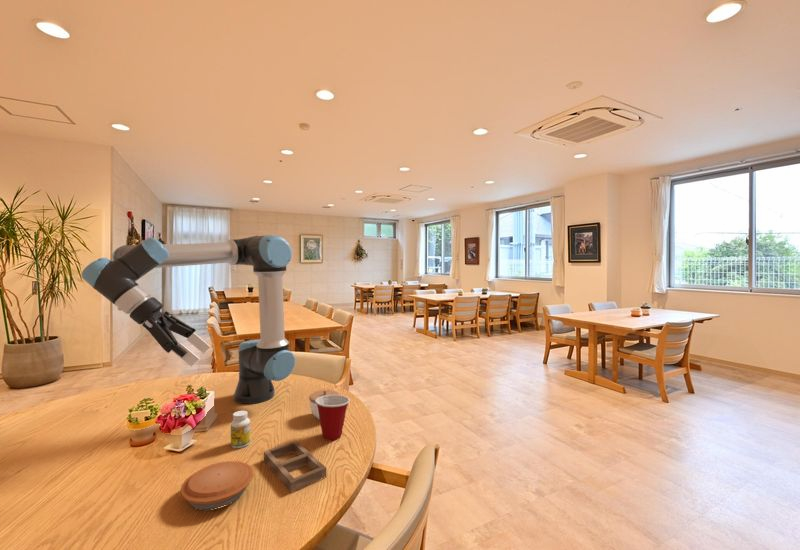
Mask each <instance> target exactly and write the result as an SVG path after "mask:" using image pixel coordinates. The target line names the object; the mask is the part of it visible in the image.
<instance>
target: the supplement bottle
mask: <svg viewBox="0 0 800 550" xmlns="http://www.w3.org/2000/svg"><path fill="white" fill-rule="evenodd" d="M248 416H249V415H248V411H247V410H238V411H235V412H234V413H232V421H231V423H230V445H231V447H232V448H233V449H243V448H245V447H247V446H249V445H250V443H251V420H250V418H249V417H248Z"/></svg>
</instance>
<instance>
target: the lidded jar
mask: <svg viewBox="0 0 800 550" xmlns="http://www.w3.org/2000/svg"><path fill="white" fill-rule="evenodd" d="M326 395H341V393H340V392H339V391H336V390H334V389H333V390H332V389H321V390H317V391H314V392H312V393H310V395H309V397H308V399H309V408H310V412H311V413H312V415H313V416H314V417H315V419H317V420H319V421H320V417H319V412H318V407H317V404H316V399H317V398H318V397H321V396H326Z"/></svg>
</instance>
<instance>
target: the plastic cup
mask: <svg viewBox="0 0 800 550" xmlns="http://www.w3.org/2000/svg"><path fill="white" fill-rule="evenodd" d="M350 401H351V400H350V398H349V397H348V396H346V395H341V394H340V395H326V396H321V397H318V398H317V399H316V404H317V407H318V412H319V417H320V420H319V423H320V427H321V434H322V438H323V439H324V440H326V441H336V440H338V439H340V438H341V437H342V434H343V428H344V424H345V420H346V419H345V418H346V413H347V409H348V405H349V403H350Z"/></svg>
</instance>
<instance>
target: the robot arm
mask: <svg viewBox="0 0 800 550" xmlns="http://www.w3.org/2000/svg"><path fill="white" fill-rule="evenodd" d="M111 255H112V256H111V259H109V258H107V257H100V258H98V259H96V260H94V261H92V262H90V263H89V264H88V265H86V266H85V268H84V269H82V271H81V279H83V280H84V281H85V282H86V283H87V284H88V285H89V286H91V287H92V289H94V290H95V291H97V292H98V293H99V294H100V295H102V296H103V297H104V298H105V299H107V300H108V301H109V302H110V303H111V304H114V306H116V307H117V311H120V312H121V311H122V312H123V313H125V314H126V315H129V318H130V319H131V320H133V321H134V322H136V324H138V325H141V326H142V327H143V328H144V329H146V330H147V331H148V332H149V333H150V335H151V336H152V337H153V338H154V340H155V341H156V342H157V343H158V344H159V345H160V347H161V348H162V349H163V350H164V351H165V352H166V353H168V354H169V353H171V352H172V353H174V354H175V355H176V356H177V357H179V358H180V359H181V360H182V361H184V363H186V364H187V365H188V366H189V367H193V366H194V365H195V363H197V362H198V361H199V360H200V357H199V356H198V355H197V354H195V353H194V352H193V351H192V350H190V349H189V348H188V347H186V346H185V345H184V344H183V343H182V342H180V343H179V342H178V341H177V339H176V337H175V335H174V334H173V333H175V334H178V335H180V336H182V337H184V338H186V341H187V342H189V343H190V344H191V345H193V346H194V348H195V349H197V350H198V351H200V352H201V353H202V354H205V353H206V352H207V351H208V350H209V349H210V348H211V345H210V344H208V342H206V341H205V340H204V339H202V338H201V337H200V336H199V335H198V334H197V333H195V332H196V331H197V330H196V329H195V328H194V327H192V326H190V325H189V324H187V323H185V322H183V321H182V320H181V319H179V318H177V317H176V316H174V315H173V314H171V313H170V312H169V311H166V310H165V312H161V310H162V309H163V308H164V307H163V306H164V304H163V303H162V302H160V301H159V300H158V298H156V297H153V296H152V294H151V293H150V292H148V291H147V290H146V289H145V287H143V286H141V285H140V284H138V282H137V281H138V280H139V279H141V278H143V276H145V275H146V274H148V273H149V272H151V271H152V270H154V269H156V268H157V269H158V268H159V269H160V268H171V267H172V268H174V267H184V266H185V267H186V266H187V267H188V266H200V265H201V266H202V265H214V264H215V265H216V264H226V263H227V264H229V265H231V266H236V265H238V266H240V265H243V266H251V267H252V269H253V270H252V271H253V273H254V275H256V276H257V279H258V280H257V281H258V283H257V284H258V286H257V287H258V306H259V307H258V308H259V309H258V310H259V331H260V332H259V333H260V338H259V339H257V338H256V339H252V340H246V341H242V342H240V343H239V345H238V351H237V352H238V381H237V384H236V386H235V387H236V388H235V391H234V395H233V396H234V397H233V398H234V401H235V402H236V403H238V402H239V403H238V404H243V403H248V404H249V403H250V404H258V403H262V402H266V401H269V400H271V399H272V398H273V397H274V396H275V394H276V393H275V386H274V383H273V382H274V381H275V382H280V381H282V380H285V379H287V378H288V377H289V376H291V373H292V372H293V371H294V369H295V366H296V357H295V354H294V353H293V352H292V351H291V350H290V342H289V340H288V339H286V338H285V337H286V336H285V311H284V307H285V306H284V288H283V287H284V285H283V277H284V274H286V273H287V265H288V264H289V263H290V261H291V260H292V257H293V250H292V247H291V245H290V243H289V242H288V241H287V240H286V239H285V238H284V237H282V236H279V235H272V234H266V235H255V236H254V235H253V236H250V237H249V236H248V237H244V238H238V239H228V240H227V241H226V242H200V243H199V242H198V243H194V242H193V243H172V244H171V243H170V244H169V243H166V244H165V243H162V242H161V241H159V240H158V239H157V238H154V237H148V238H146V239H144V240H142V241H141V242H140V243H138V244H135V245H134V244H131V245H129V244H127V245H122V246H119V247H117V248H116V249H115V250H114V251H113V252H112V254H111ZM172 332H173V333H172Z"/></svg>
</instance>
